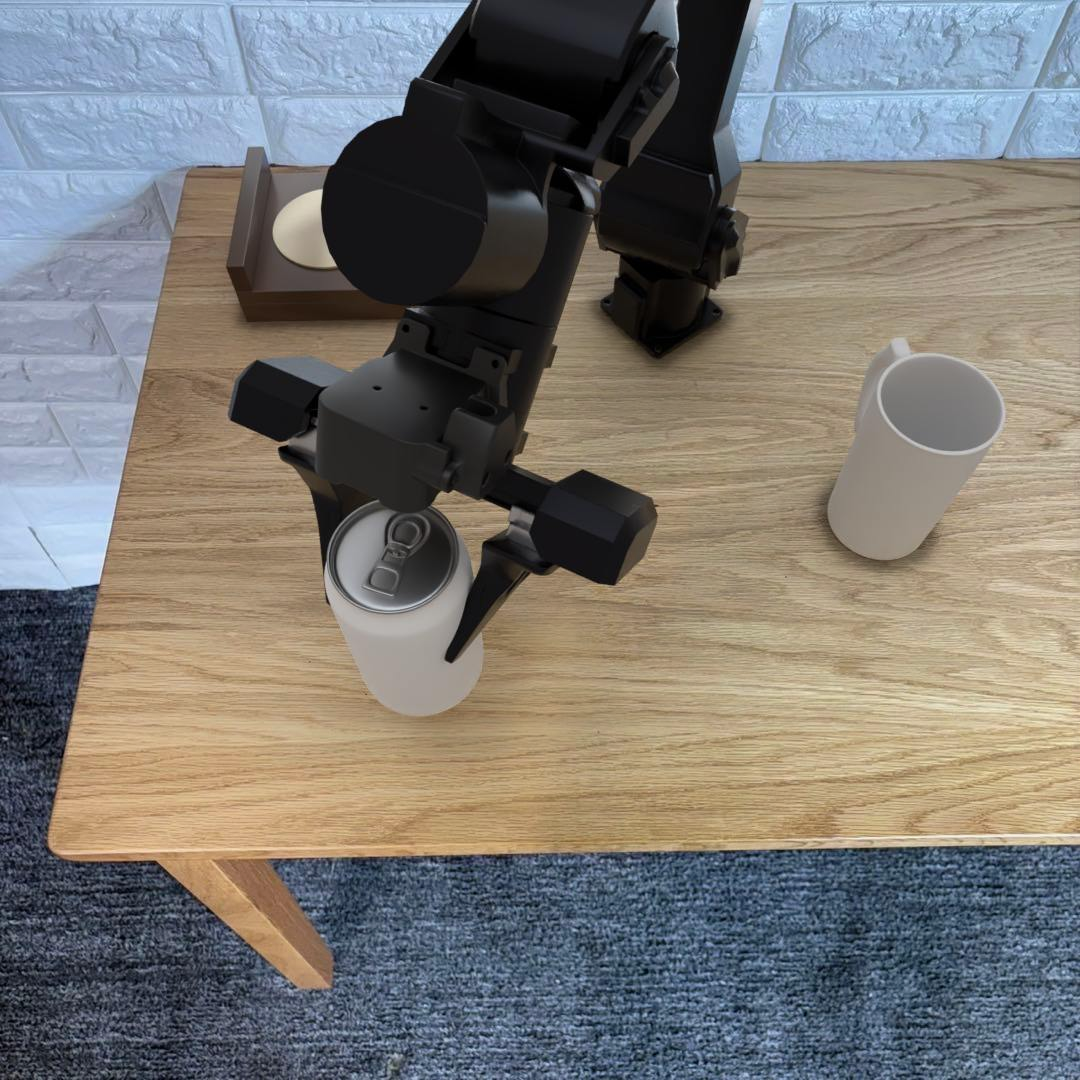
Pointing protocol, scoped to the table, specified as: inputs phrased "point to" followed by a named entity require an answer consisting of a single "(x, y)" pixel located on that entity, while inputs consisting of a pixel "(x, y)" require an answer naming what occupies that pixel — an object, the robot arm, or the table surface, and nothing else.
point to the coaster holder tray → (289, 252)
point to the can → (403, 605)
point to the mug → (911, 448)
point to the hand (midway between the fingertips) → (391, 631)
